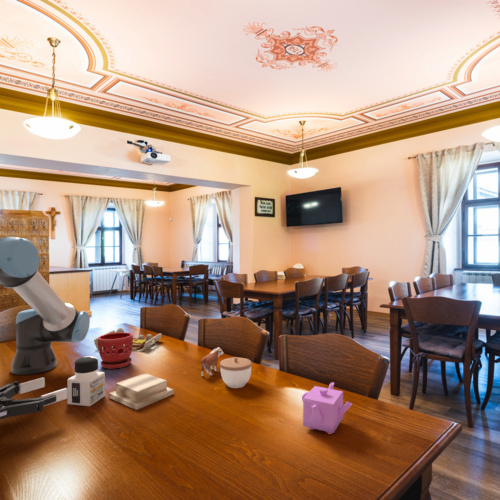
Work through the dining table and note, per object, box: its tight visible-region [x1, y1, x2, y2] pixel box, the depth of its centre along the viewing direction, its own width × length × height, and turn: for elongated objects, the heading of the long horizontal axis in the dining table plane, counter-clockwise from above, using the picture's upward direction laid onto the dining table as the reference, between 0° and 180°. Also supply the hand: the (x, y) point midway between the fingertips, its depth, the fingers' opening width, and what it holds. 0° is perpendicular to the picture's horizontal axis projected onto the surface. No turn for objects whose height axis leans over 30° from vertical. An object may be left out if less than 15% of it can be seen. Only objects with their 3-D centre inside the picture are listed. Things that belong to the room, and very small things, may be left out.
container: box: [66, 355, 106, 407], centre depth 111 cm, size 8×8×13 cm
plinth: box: [108, 372, 174, 411], centre depth 114 cm, size 14×14×4 cm
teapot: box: [301, 381, 353, 434], centre depth 95 cm, size 18×13×10 cm
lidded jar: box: [219, 356, 253, 389], centre depth 123 cm, size 11×11×9 cm
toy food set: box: [93, 327, 162, 353], centre depth 172 cm, size 25×18×8 cm
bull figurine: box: [200, 347, 224, 377], centre depth 136 cm, size 4×13×8 cm, turn 155°
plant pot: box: [97, 331, 134, 370], centre depth 144 cm, size 13×13×12 cm
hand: (55, 387), depth 104 cm, fingers open, 13 cm apart
